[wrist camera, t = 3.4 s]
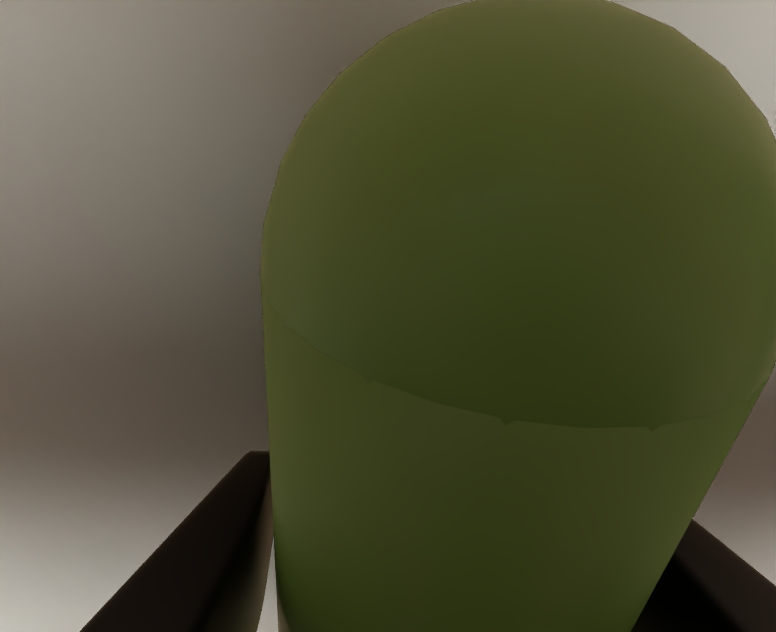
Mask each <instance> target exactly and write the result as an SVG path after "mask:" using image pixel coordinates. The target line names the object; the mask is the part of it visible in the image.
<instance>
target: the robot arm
mask: <svg viewBox="0 0 776 632" xmlns="http://www.w3.org/2000/svg"><path fill="white" fill-rule="evenodd" d="M273 536H274V531H273V511H272V492H271V472H270V452H269V451H249V452H248V453H246V454H245V455H244V456H243V457H242V458H241V459H240V461H239V462H238V463H237V464H236V465H235V466H234V467H233V468H232V469H231V470H230V471H229V472H228V473H227V474H226V475H225V477H224V478H223V479H222V480H221V481H220V482H219V483H218V484H217V485H216V486H215V487H214V488H213V489H212V490H211V492H210V493H209V494H208V495H207V496H206V497H205V498H204V499H203V500H202V501H201V502H200V503H199V504H198V505H197V507H196V508H195V509H194V510H193V511H192V512H191V513H190V514H189V515H188V516H187V517H186V518H185V519H184V520H183V521H182V523H181V524H180V525H179V526H178V527H177V528H176V529H175V530H174V531H173V532H172V533H171V534H170V535H169V536H168V538H167V539H166V540H165V541H164V542H163V543H162V544H161V545H160V546H159V547H158V548H157V549H156V550H155V551H154V553H153V554H152V555H151V556H150V557H149V558H148V559H147V560H146V561H145V562H144V563H143V564H142V565H141V566H140V567H139V569H138V570H137V571H136V572H135V573H134V574H133V575H132V576H131V577H130V578H129V579H128V580H127V581H126V582H125V584H124V585H123V586H122V587H121V588H120V589H119V590H118V591H117V592H116V593H115V594H114V595H113V596H112V597H111V599H110V600H109V601H108V602H107V603H106V604H105V605H104V606H103V607H102V608H101V609H100V610H99V611H98V612H97V613H96V615H95V616H94V617H93V618H92V619H91V620H90V621H89V622H88V623H87V624H86V625H85V626H84V627H83V628H82V630H81V631H80V632H256V631H257V628H258V623H259V619H260V615H261V611H262V606H263V600H264V595H265V589H266V582H267V575H268V569H269V562H270V556H271V549H272V542H273ZM631 632H776V586H775V585H774V584H773V583H771V582H770V581H769V580H768V579H766V578H765V577H764V576H763V575H761V574H760V573H759V572H758V571H756V570H755V569H754V568H753V567H751V566H750V565H749V564H748V563H746V562H745V561H744V560H743V559H742V558H740V557H739V556H738V555H737V554H735V553H734V552H733V551H732V550H730V549H729V548H728V547H727V546H725V545H724V544H723V543H722V542H720V541H719V540H718V539H717V538H715V537H714V536H713V535H712V534H710V533H709V532H708V531H707V530H705V529H704V528H703V527H702V526H700V525H699V524H698V523H697V522H696V521H694V520H693V519H692V520H691V522H690V524H689V526H688V527H687V529H686V531H685V533H684V535H683V537H682V538H681V540H680V542H679V544H678V546H677V548H676V549H675V551H674V553H673V555H672V557H671V559H670V560H669V562H668V564H667V566H666V568H665V570H664V571H663V573H662V575H661V577H660V579H659V581H658V582H657V584H656V586H655V588H654V590H653V592H652V593H651V595H650V597H649V599H648V601H647V603H646V604H645V606H644V608H643V610H642V612H641V614H640V615H639V617H638V619H637V621H636V623H635V625H634V626H633V628H632V630H631Z"/></svg>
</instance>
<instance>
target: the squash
mask: <svg viewBox="0 0 776 632" xmlns="http://www.w3.org/2000/svg"><path fill="white" fill-rule="evenodd" d="M260 276H261V296H262V315H263V335H264V354H265V374H266V394H267V413H268V433H269V452H270V472H271V492H272V511H273V531H274V550H275V570H276V590H277V609H278V629H279V632H631V630H632V628H633V626H634V625H635V623H636V621H637V619H638V617H639V615H640V614H641V612H642V610H643V608H644V606H645V604H646V603H647V601H648V599H649V597H650V595H651V593H652V592H653V590H654V588H655V586H656V584H657V582H658V581H659V579H660V577H661V575H662V573H663V571H664V570H665V568H666V566H667V564H668V562H669V560H670V559H671V557H672V555H673V553H674V551H675V549H676V548H677V546H678V544H679V542H680V540H681V538H682V537H683V535H684V533H685V531H686V529H687V527H688V526H689V524H690V522H691V520H692V518H693V516H694V515H695V513H696V511H697V509H698V507H699V505H700V504H701V502H702V500H703V498H704V496H705V494H706V493H707V491H708V489H709V487H710V485H711V483H712V482H713V480H714V478H715V476H716V474H717V472H718V471H719V469H720V467H721V465H722V463H723V461H724V460H725V458H726V456H727V454H728V452H729V450H730V449H731V447H732V445H733V443H734V441H735V439H736V438H737V436H738V434H739V432H740V430H741V428H742V427H743V425H744V423H745V421H746V419H747V417H748V416H749V414H750V412H751V410H752V408H753V406H754V405H755V403H756V401H757V399H758V397H759V395H760V393H761V392H762V390H763V388H764V386H765V384H766V382H767V381H768V379H769V377H770V375H771V373H772V370H773V368H774V365H775V362H776V139H775V137H774V135H773V133H772V130H771V128H770V126H769V124H768V121H767V119H766V117H765V116H764V115H763V114H762V112H761V111H760V110H759V109H758V107H757V106H756V105H755V103H754V102H753V101H752V100H751V98H750V97H749V96H748V95H747V93H746V92H745V91H744V90H743V88H742V87H741V86H740V85H739V83H738V82H737V81H736V80H735V78H734V77H733V76H732V75H731V73H730V72H729V71H728V70H727V68H726V67H725V66H724V65H722V64H721V63H720V62H718V61H717V60H716V59H714V58H713V57H712V56H710V55H709V54H708V53H706V52H705V51H704V50H702V49H701V48H700V47H699V46H697V45H696V44H695V43H693V42H692V41H691V40H689V39H688V38H687V37H685V36H684V35H683V34H681V33H680V32H679V31H677V30H676V29H675V28H673V27H671V26H669V25H666V24H664V23H662V22H659V21H657V20H654V19H652V18H650V17H647V16H645V15H643V14H640V13H638V12H635V11H633V10H631V9H628V8H626V7H624V6H621V5H619V4H617V3H614V2H610V1H606V0H476V1H472V2H468V3H464V4H460V5H456V6H452V7H448V8H445V9H441V10H438V11H436V12H434V13H432V14H430V15H428V16H426V17H424V18H422V19H420V20H418V21H416V22H414V23H412V24H410V25H408V26H406V27H404V28H402V29H400V30H398V31H396V32H394V33H392V34H390V35H388V36H386V37H385V38H384V39H382V40H381V41H380V42H379V43H377V44H376V45H375V46H374V47H372V48H371V49H370V50H369V51H367V52H366V53H365V54H364V55H362V56H361V57H360V58H359V59H357V60H356V61H355V62H354V63H352V64H351V65H350V66H349V67H347V68H346V69H345V70H344V71H342V72H341V73H340V74H339V75H338V77H337V78H336V79H335V80H334V81H333V83H332V84H331V85H330V86H329V88H328V89H327V90H326V91H325V92H324V94H323V95H322V96H321V97H320V99H319V100H318V101H317V102H316V103H315V105H314V106H313V107H312V108H311V109H310V111H309V112H308V113H307V114H306V116H305V117H304V119H303V121H302V123H301V125H300V127H299V129H298V131H297V132H296V134H295V136H294V138H293V140H292V142H291V144H290V146H289V148H288V150H287V152H286V153H285V155H284V157H283V159H282V161H281V164H280V167H279V170H278V174H277V177H276V181H275V185H274V188H273V192H272V195H271V199H270V202H269V206H268V210H267V213H266V217H265V220H264V224H263V236H262V252H261V269H260Z"/></svg>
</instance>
